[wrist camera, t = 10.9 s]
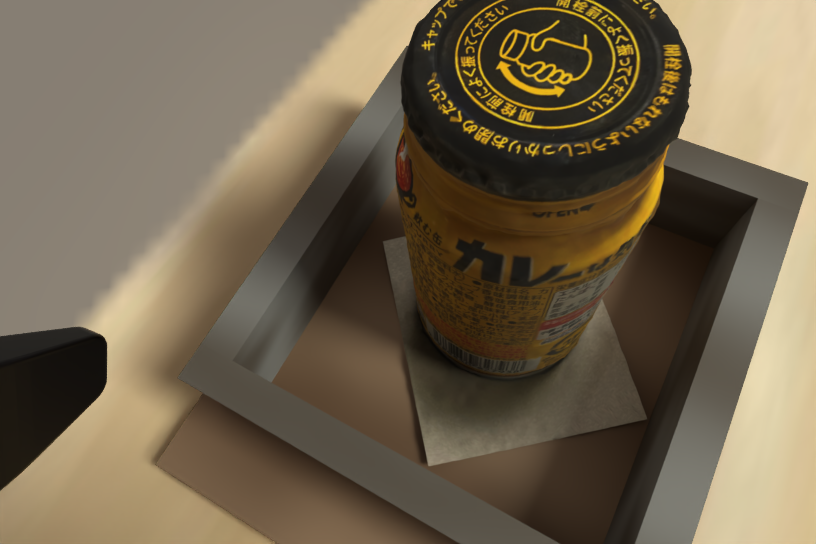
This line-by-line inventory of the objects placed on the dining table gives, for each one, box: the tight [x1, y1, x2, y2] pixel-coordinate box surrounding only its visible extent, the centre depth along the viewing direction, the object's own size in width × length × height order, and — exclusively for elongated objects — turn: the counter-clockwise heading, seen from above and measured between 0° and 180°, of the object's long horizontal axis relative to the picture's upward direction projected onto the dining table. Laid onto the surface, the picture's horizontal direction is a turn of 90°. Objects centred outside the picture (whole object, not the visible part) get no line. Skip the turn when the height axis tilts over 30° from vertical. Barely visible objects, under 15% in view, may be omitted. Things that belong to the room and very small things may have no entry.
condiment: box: [383, 0, 692, 466], centre depth 15 cm, size 7×8×12 cm
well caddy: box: [156, 46, 808, 544], centre depth 20 cm, size 20×16×4 cm
